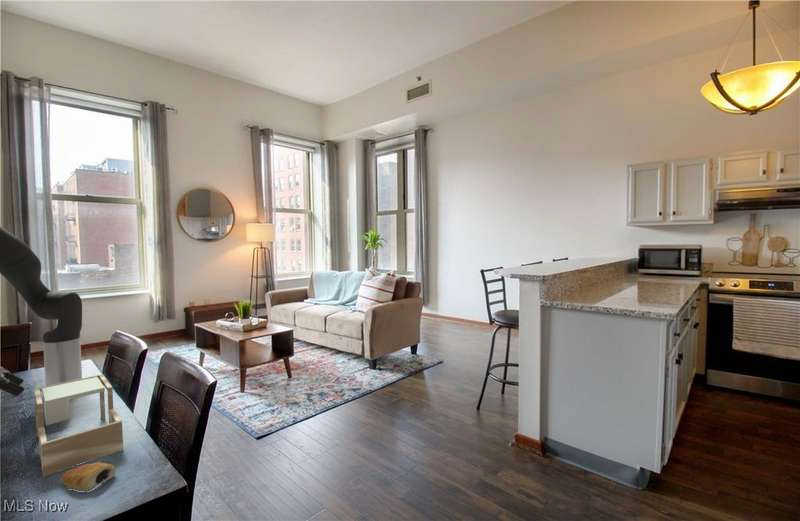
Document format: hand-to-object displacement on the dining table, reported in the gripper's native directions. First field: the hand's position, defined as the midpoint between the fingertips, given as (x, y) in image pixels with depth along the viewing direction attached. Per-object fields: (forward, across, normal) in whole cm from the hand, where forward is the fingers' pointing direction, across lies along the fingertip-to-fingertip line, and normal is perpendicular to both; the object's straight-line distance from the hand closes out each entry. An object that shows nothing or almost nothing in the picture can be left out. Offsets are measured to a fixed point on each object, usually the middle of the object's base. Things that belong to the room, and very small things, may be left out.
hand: (20, 388), depth 99 cm
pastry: (+14, -42, +2) cm, 45 cm away
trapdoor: (+6, -15, -7) cm, 18 cm away
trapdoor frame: (+14, -21, +1) cm, 25 cm away
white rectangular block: (+13, 0, +3) cm, 13 cm away
